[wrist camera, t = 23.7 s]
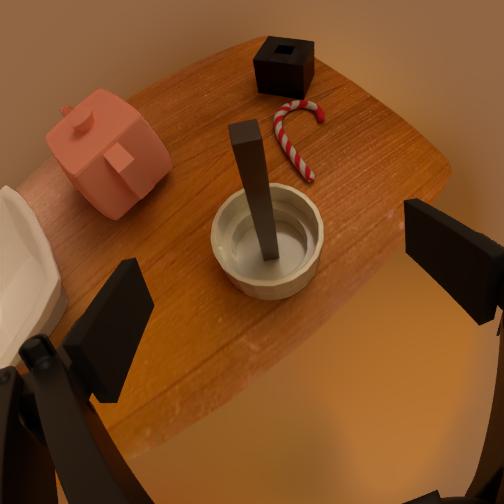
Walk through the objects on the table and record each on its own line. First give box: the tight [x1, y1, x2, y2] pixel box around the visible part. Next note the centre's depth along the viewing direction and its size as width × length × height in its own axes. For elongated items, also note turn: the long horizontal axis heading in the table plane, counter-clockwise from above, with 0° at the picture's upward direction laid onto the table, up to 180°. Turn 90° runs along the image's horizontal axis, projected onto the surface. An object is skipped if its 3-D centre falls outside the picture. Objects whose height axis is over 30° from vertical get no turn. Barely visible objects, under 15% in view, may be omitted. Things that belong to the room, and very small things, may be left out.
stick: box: [228, 119, 280, 261], centre depth 27 cm, size 2×2×20 cm
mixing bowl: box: [211, 183, 324, 300], centre depth 34 cm, size 11×11×6 cm
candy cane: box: [273, 100, 325, 182], centre depth 42 cm, size 8×1×15 cm
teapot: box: [46, 89, 172, 220], centre depth 38 cm, size 22×13×14 cm, turn 46°
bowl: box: [0, 186, 68, 369], centre depth 34 cm, size 24×25×10 cm
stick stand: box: [253, 36, 314, 100], centre depth 44 cm, size 8×8×7 cm
